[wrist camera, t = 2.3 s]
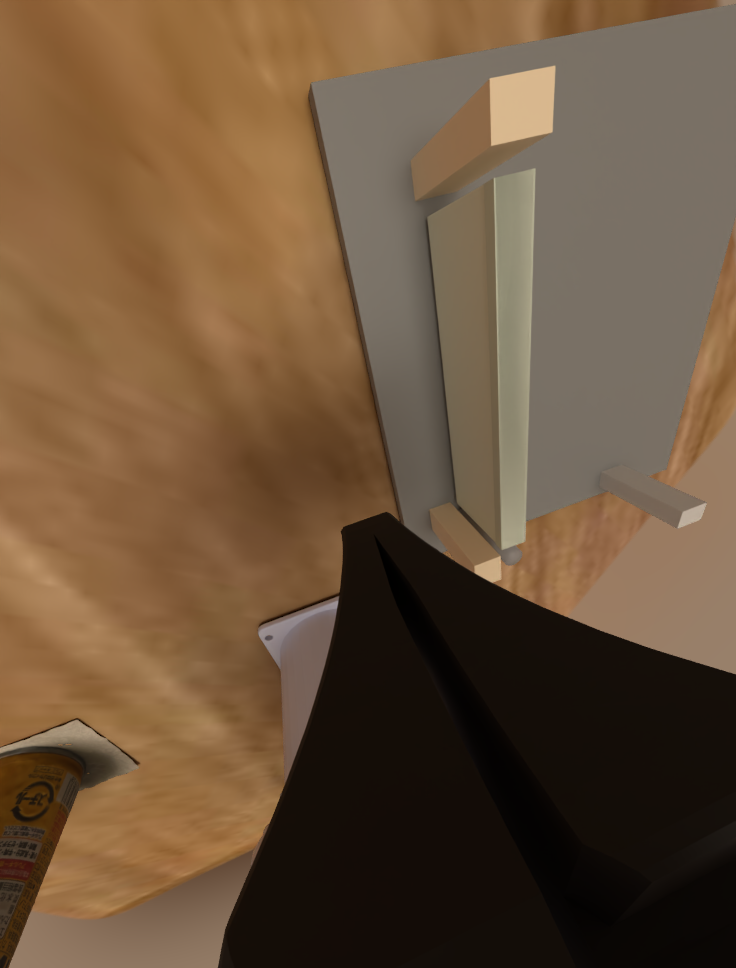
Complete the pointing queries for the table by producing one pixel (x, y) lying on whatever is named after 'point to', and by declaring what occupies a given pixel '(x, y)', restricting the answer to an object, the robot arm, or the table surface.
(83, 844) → the table surface
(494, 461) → the gate
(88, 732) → the condiment
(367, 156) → the grey square baseplate
